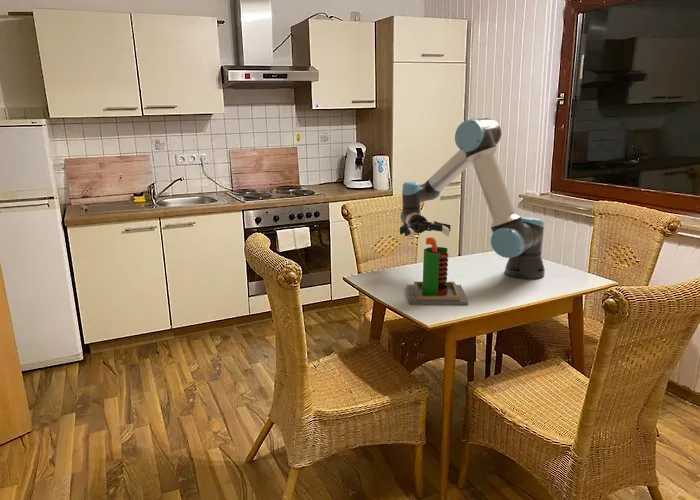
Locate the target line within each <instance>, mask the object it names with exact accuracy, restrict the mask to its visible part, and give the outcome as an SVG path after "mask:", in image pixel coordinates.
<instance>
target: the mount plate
mask: <svg viewBox="0 0 700 500" xmlns="http://www.w3.org/2000/svg"><path fill="white" fill-rule="evenodd" d="M446 286H448V292H447V295H424V294H423V293H422V288H423V281H413V284H406V290H407V296H408V297H407V299H408V305H410V306H417V305H418V306H419V305H420V306H424V305H425V306H469V301H468V298H467V296H466V294H465V292H464V289H463V287H462V285H461V284H456V282H455V281H446Z"/></svg>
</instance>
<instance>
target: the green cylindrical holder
mask: <svg viewBox="0 0 700 500" xmlns="http://www.w3.org/2000/svg"><path fill="white" fill-rule="evenodd" d="M425 245H431V247H429V246H428V247H426V248H424V249H423V268H422V282H423V288H422V293H423V294H424V295H447V292H448V286H446V282H448V277H447V276H448V267H449V264H448V262H449V254H448V247H442V246H438V244H437V240H436V239H435V238H434V237H427V238H425Z"/></svg>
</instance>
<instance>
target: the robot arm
mask: <svg viewBox="0 0 700 500" xmlns="http://www.w3.org/2000/svg"><path fill="white" fill-rule="evenodd" d="M501 138H502V127H501V126H500V124H499V123H498V122H497V121H496V120H494V119H492V118H489V117H488V118H487V117H486V118H471V119H467V120H464V121H462V122H461V123H460V124H459V125H458V127H456V130H455V133H454V141H455V145H456V146H457V148H458V149H459V150H458V151H456V152H455V154H453V156H451V157H450V158H449V159H448V161H446V162H445V163H444V164H443V165H442V166H441V167H440V168H439V169H438V170H437V171H435V173H434V174H433V175H431V176H430V178H428V180H427V179H426V181H425V182H424V183H422V184H421V183H420V182H419V181H405V182H404V183H403V184H402V191H401V193H402V198H401V199H402V210H401V213H400V220H401V222H402V223H403V225H401V226H400V227H399V234H400V235H404V236H405V237H408V236H409V237H410V238H411V239H414V238H415V234H421V233H425V232H426V231H427V232H432V231H435V232H441V233H442V234H443V235H445V236H446V237H450V232H451V224H449V223H443V222H438V221H435V220H433V222H432V221H428V220H427V218H426V217H425V216H423V215H422V214H421V203H423V202H428V201H433V200H435V199H438V197H440V194H441V192H442V191H443V190H444V189H445V188H446V187H447V186H449V184H450V183H452V182H453V181H454V180H455V179H456V178H457V177H458V176H459V175H461V174H462V173H463V172H464V171H465V170H466V169H467V168H469V167H470V166H471V165H473V168H474V171H475V174H476V176H477V180H478V181H479V185H480V187H481V190H482V193H483V197H484V199H485V202H486V205H487V207H488V210H489V215H490V217H491V220H492V223H491V225H490V229H491V232H492V234H491V238H490V245H491V247H492V250H493V251H494V253H496V254H497V255H498V256H499V257H502V258H505V259H507V262H506V264H505V267H504V268H505V269H504V273H505V274H506V275H508V276H509V277H513V278H517V279H525V280H532V279H533V280H534V279H535V280H536V279H540V278H543V277H545V269H546V268H545V265H544V261H543V257H542V253H543V242H544V241H543V238H544V229H545V226H544V223H545V222H544V220H543V219H542V218H539V217H531V216H520V214H519V215H518V214H517V213H516V212H515V209H514V206H513V203H512V200H511V198H510V194H509V191H508V189H507V186H506V182H505V180H504V177H503V174H502V171H501V169H500V166H499V164H498V163H499V162H498V160H497V157H496V154H495V153H496V150H497V145H498V143H499V142H500V141H501Z"/></svg>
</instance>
